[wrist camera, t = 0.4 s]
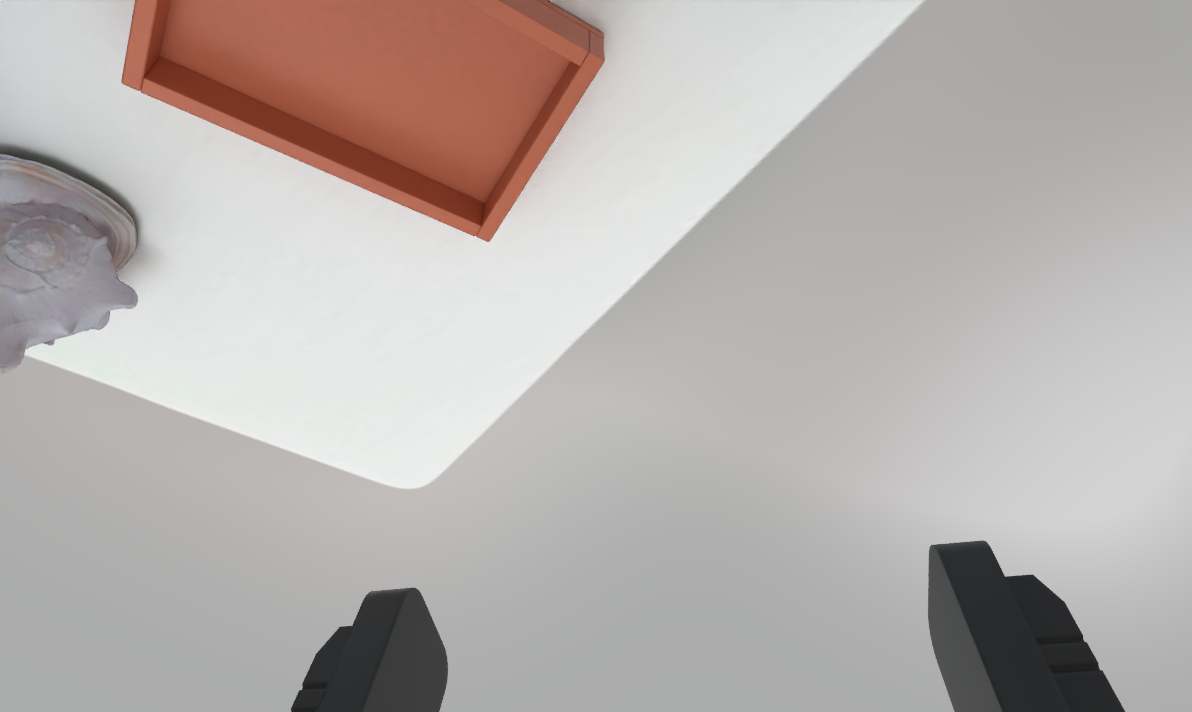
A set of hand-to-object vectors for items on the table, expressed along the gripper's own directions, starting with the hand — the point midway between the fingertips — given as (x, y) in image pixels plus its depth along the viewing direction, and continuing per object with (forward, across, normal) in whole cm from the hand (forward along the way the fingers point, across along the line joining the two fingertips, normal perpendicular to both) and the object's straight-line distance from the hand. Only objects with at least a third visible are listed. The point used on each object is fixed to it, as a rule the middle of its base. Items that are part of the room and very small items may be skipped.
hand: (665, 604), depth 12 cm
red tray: (+28, +13, -6) cm, 32 cm away
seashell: (+30, +34, 0) cm, 45 cm away
